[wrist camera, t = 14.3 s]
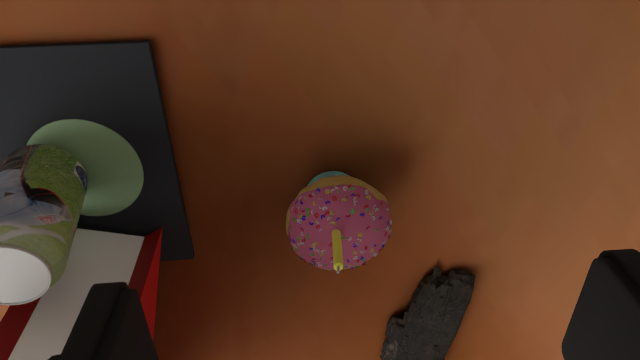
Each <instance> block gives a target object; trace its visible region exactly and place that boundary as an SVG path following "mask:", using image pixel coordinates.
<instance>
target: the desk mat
mask: <svg viewBox="0 0 640 360" xmlns="http://www.w3.org/2000/svg"><path fill="white" fill-rule="evenodd" d="M33 144H43V145H51V146H55V147H58V148H61V149H63V150H65V151H67V152H69V153H71V154H72V155H74V156H75V157H76V158H77V159H78V160H79V161H80V162H81V163H82V164H83V166H84V167H85V169H86V171H87V174H88V179H89V180H88V188H87V191H86V195H85V199H84V202H83V206H82V209H81V213H80V217H79V220H78V224H77V228H79V229H87V230H94V231H102V232H110V233H118V234H126V235H134V236H142V237H145V236H147V235H149V234H150V233H152V232H154V231H156V230H157V229H159V228H161V227H162V239H161V252H160V261H169V260H185V259H193V258H194V251H193V246H192V241H191V237H190V232H189V227H188V222H187V217H186V212H185V207H184V202H183V197H182V193H181V188H180V183H179V178H178V173H177V168H176V163H175V158H174V153H173V148H172V144H171V139H170V134H169V129H168V124H167V119H166V114H165V109H164V104H163V100H162V95H161V90H160V85H159V80H158V75H157V70H156V65H155V60H154V56H153V51H152V46H151V41H150V40H139V41H113V42H87V43H61V44H36V45H10V46H0V167H1V165H2V163H3V162H4V160H5V159H6V157H7V156H8V155H9V154H10V153H12V152H13V151H14V150H16V149H18V148H21V147H24V146H27V145H33Z"/></svg>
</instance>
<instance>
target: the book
mask: <svg viewBox="0 0 640 360" xmlns="http://www.w3.org/2000/svg"><path fill="white" fill-rule="evenodd" d="M161 239H162V227H161V228H159V229H157V230H156V231H154V232H152V233H150V234H149V235H147V236H145V237H142V236H134V235H126V234H118V233H110V232H102V231H94V230H87V229H79V228H76V231H75V235H74V239H73V242H72V246H71V249H70V253H69V257H68V260H67V264H66V268H65V271H64V273H63V275H62V277H61V278H60V279H59V280H58V281H57V283H56V284H55V285H53V286H52V287H50V288H49V289H48V290H47V291H46V293H45V294H44V295H42V296H41V297H40V298H38V299H36V300H34V301H31V302H28V303H25V304H20V305H10V307H9V308H8V310H7V312H6V313H5V315H4V317H3V319H2V320H1V322H0V360H48V359H49V358H50V357H51V356H54V355H59V354H61V353H62V350H63V348H64V346H65V344H66V342H67V339H68V337H69V335H70V333H71V330H72V328H73V326H74V324H75V322H76V319H77V317H78V315H79V313H80V310H81V308H82V306H83V304H84V302H85V299H86V297H87V295H88V293H89V290H90V289H91V287H92V285H94V284H96V283H112V282H126V283H127V285H128V287H129V289H133V288H135V289H136V290H137V291H138V294H139V297H140V301H141V304H142V307H143V310H144V314H145V317H146V320H147V324H148V327H149V330H150V334H151V337H152V340H154V327H155V315H156V302H157V290H158V277H159V264H160V252H161Z"/></svg>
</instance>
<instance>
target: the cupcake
mask: <svg viewBox="0 0 640 360" xmlns="http://www.w3.org/2000/svg"><path fill="white" fill-rule="evenodd" d="M391 224H392V221H391V218H390V209H389V206H388V202H387V199H386V197H385V196H384V195H383V194H381V193H380V192H379V191H377V190H376V189H375V188H373V187H372V186H370V185H369V184H367V183H365V182H364V181H362V180H359V179H357V178H354V177H351V176H349V175H348V174H346V173H343V172H339V171H328V172H324V173H321V174H319V175H317V176H316V177H314V178H313V179H312V180H311V181H310V182H309V184H308V185H307V187H305V188H303V189H302V190H301V191H300V192H299V194H298V195H297V197H296V198H295V200H294V201H293V202H292V204H291V205H290V207H289V209H288V211H287V217H286V232H287V235H288V238H289V240H290V242H291V245H292V250H294V252H295V253H297V254H298V255H299V257H300V258H301V259H302V258H303V259H302V260H304V262H305V260H306V261H307V262H309V263H310V264H311V265H314V266H316V267H318V268H321V269H322V270H326V269H327V270H329V271H331V269H332V270H337V274H339V273H340V270H342V269H344V270H346V269H348V268H353V267H358V266H359V265H361V264H362V265H365V263H366V261H368V260H369V259H372V258H373V257H375V256H376V255H377V254H378V252H379V251H380V250H381V249H382V248H383V247H384V245H385V244H386V242H387V241H388V240H389V238H390V235H391V230H392V229H391Z"/></svg>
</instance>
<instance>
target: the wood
mask: <svg viewBox="0 0 640 360" xmlns="http://www.w3.org/2000/svg"><path fill="white" fill-rule="evenodd" d="M474 279H475V275H473V274H472V273H471V272H469V271H468V270H466V271H465V270H463V269H462V270H460V271H458V270H454V269H453V270H452V271H451V272H450V273H449V274H448V275H447V276H444V275H443V276H441V270H439V269H438V266H434V272H433V274H432V275H430V276H426V277H425V278H424V279H423V280H422V282H421V286H418V287H417V289H416V290H415V292H414V293H413V296H412V299H411V302H410V305H409V308H408V312H404V317H397V316H393V317H392V318H391V319H390V320H389V321H388V323H387V330H386V335H387V336H386V339H385V341H384V343H383V350H382V354H381V356H380V357H381V359H382V360H444V358H445V356H446V353H447V351H448V349H449V347H450V345H451V344H452V342H453V340H454V338H455V336H456V334H457V332H458V329H459V327H460V324H461V321H462V319H463V316H464V313H465V311H466V309H467V307H468V305H469V303H470V299H471V295H472V292H473V289H474Z"/></svg>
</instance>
